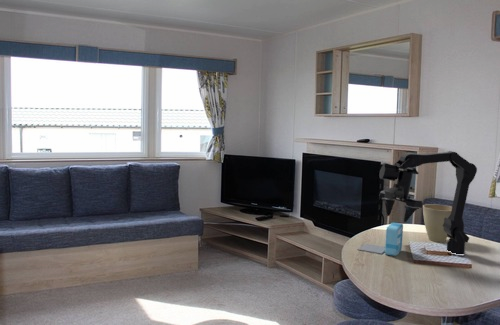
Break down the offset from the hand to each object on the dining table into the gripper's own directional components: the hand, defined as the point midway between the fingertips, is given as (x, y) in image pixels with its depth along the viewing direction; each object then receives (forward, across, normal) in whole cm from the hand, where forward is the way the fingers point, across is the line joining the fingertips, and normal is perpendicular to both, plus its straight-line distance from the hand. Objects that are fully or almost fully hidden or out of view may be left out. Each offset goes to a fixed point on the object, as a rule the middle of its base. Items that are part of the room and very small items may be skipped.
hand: (396, 218), depth 199 cm
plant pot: (+11, -5, +38) cm, 39 cm away
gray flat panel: (+16, -8, -1) cm, 18 cm away
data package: (+15, 0, +2) cm, 15 cm away
